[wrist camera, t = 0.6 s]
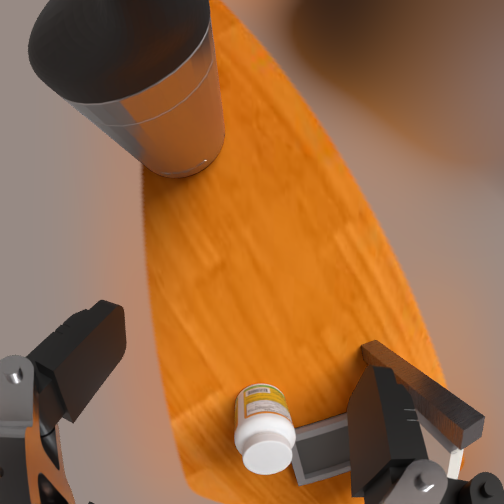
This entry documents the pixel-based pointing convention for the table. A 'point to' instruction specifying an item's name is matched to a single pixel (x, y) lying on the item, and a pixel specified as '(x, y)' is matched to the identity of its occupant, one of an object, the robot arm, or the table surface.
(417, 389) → the door frame
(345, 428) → the shallow tray
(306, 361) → the table surface
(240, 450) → the supplement bottle
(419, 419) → the door
